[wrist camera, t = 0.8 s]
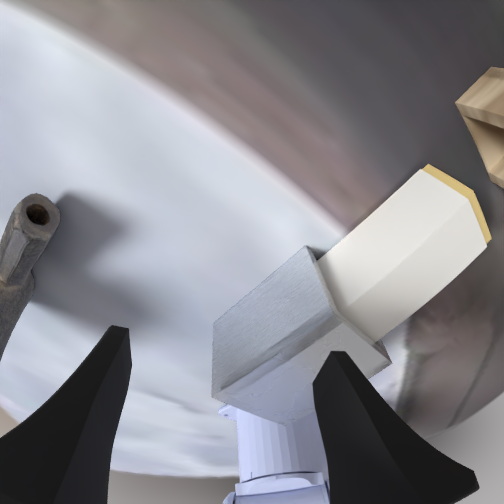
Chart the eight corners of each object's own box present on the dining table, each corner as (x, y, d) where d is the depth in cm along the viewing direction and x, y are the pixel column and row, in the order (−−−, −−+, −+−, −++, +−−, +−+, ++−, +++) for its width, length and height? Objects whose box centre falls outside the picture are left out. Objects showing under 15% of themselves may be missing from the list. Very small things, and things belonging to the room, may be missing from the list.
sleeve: (360, 297, 22) (392, 363, 17) (274, 359, 25) (284, 426, 19) (305, 245, 19) (333, 314, 14) (213, 322, 22) (211, 396, 17)
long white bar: (449, 205, 18) (493, 240, 14) (276, 347, 24) (284, 400, 19) (426, 163, 17) (475, 192, 12) (238, 324, 22) (241, 380, 18)
